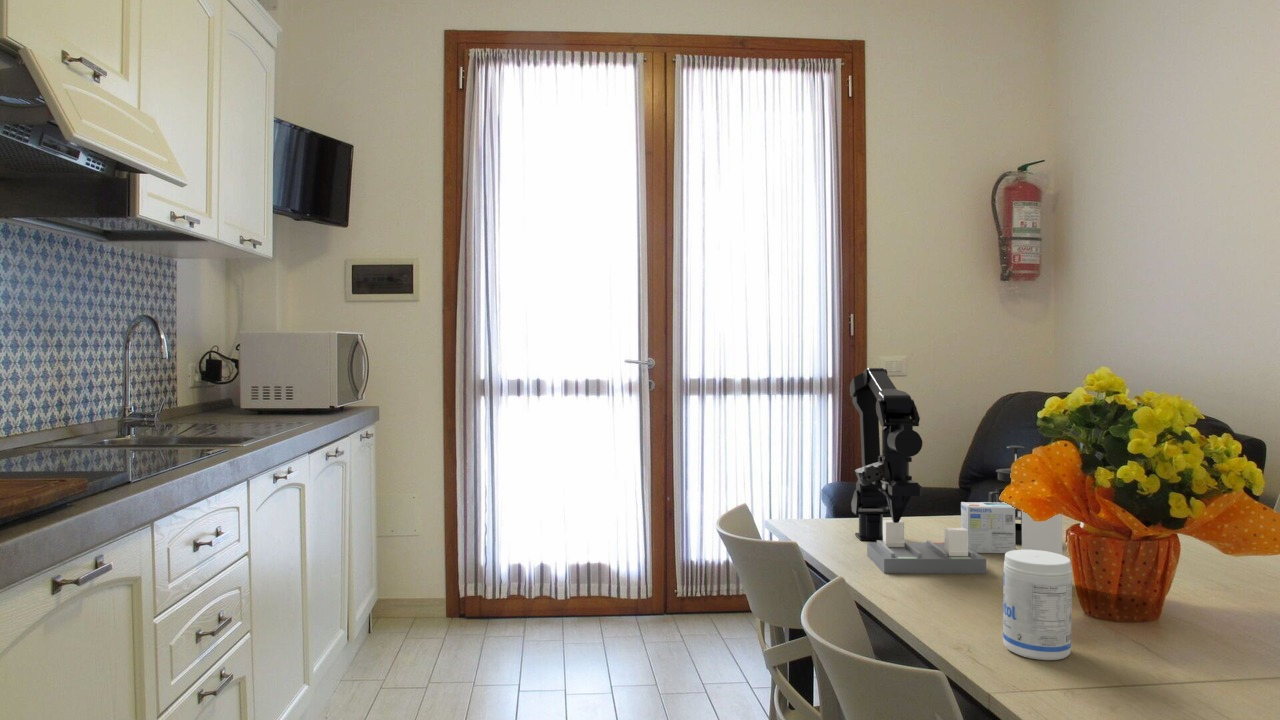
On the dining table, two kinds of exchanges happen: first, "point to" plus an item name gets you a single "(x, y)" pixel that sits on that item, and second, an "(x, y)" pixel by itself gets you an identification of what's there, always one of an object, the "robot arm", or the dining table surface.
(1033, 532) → the off-white cardboard box
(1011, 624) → the supplement tub
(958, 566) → the breaker panel
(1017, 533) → the french press
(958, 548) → the tall cream cuboid
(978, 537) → the light bulb box
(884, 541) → the white block
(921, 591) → the dining table surface
